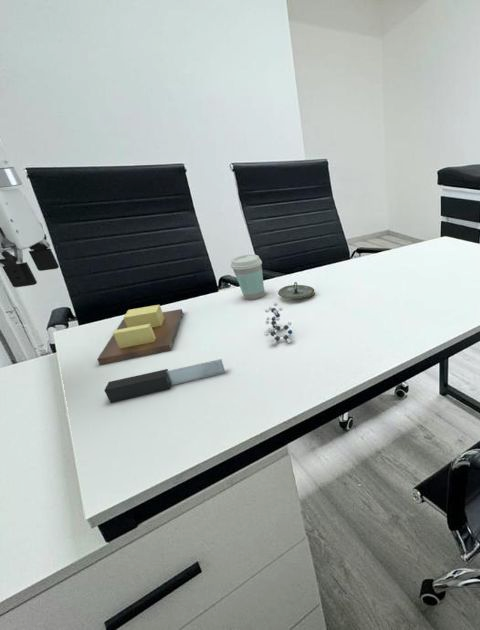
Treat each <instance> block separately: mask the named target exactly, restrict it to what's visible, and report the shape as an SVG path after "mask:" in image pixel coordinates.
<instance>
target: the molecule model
mask: <svg viewBox="0 0 480 630" xmlns="http://www.w3.org/2000/svg"><path fill="white" fill-rule="evenodd" d="M277 306H278V303H277V302H274V303H273V307H272V306H269V307H268V308H266V309H264V312H265V313H269V312H271V313H273V315H274V316H272V317H269V316H267V317H266V318H265V319H266V321H265V322H264V323H265V325H269V324H271V325H272V327H271V328H269V329H268V332H264V336H265V337H268V336H269V335H270V336H271V337H274V340H272V342H271V345H273V346H275V345H276V344H277V342H279V341H280V340H284V341H287V343H288V344H291V343H292V340H291V339H289V336H290V335H293V330H292V329H290V326H291V325H292V321H288V322H287V324H285V325H283V326H280V325H278V324H277V322H279V321H281V318H280V317H281V313H280V312H279V311H281V312H282V311H283V309H284V308H283V307H281V306H280V307H278V309H277V308H276V307H277ZM270 320H271V321H270ZM283 330H285V331H287V334H285V335H283V336H279V335H277V331H283Z"/></svg>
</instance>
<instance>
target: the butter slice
mask: <svg viewBox="0 0 480 630" xmlns="http://www.w3.org/2000/svg"><path fill="white" fill-rule="evenodd" d="M113 335H114V337H115V339H116V342H117V344H118V346H119V348H120V349H121V348H126V347H131V346H136V345H141V344H146V343H151V342H154V341H155V339H156V337H155V335H154V332H153V329H152V327H151V324H145V325H140V326H135V327H129V328H124V329H118V330H117V329H115V330H114V332H113V333H112V336H113Z"/></svg>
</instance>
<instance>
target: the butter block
mask: <svg viewBox="0 0 480 630" xmlns="http://www.w3.org/2000/svg"><path fill="white" fill-rule="evenodd" d="M162 312H163V311H162V308H161V305H160V304H154V305H149V306H143V307H137V308H132V309H128V310H126V313H125V314H124V316H123V319H124V320H125V323H126V325H127V327H128V328H129V327H135V326H140V325H145V324H151V327H158V326H161V325H162V323H163V321H164V315H163V313H162Z"/></svg>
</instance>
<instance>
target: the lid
mask: <svg viewBox="0 0 480 630" xmlns="http://www.w3.org/2000/svg"><path fill="white" fill-rule="evenodd" d="M277 294H278V296H279V297H282V298H284V299H288V300H302V299H307V298H310V297H313V296H314V295H315V289H314V287H312V286H310V285H304V284H298V282H297V281H294V283H293V284H291V285H287V286H283V287H281V288H280V289H278V291H277Z"/></svg>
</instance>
